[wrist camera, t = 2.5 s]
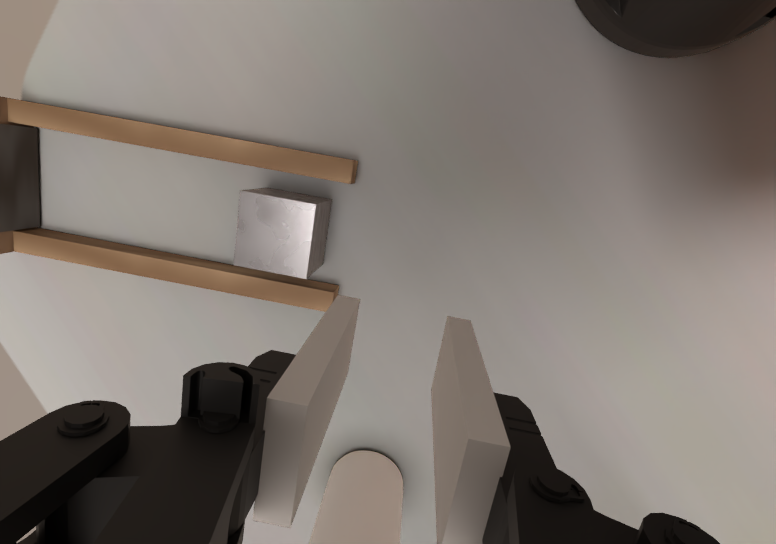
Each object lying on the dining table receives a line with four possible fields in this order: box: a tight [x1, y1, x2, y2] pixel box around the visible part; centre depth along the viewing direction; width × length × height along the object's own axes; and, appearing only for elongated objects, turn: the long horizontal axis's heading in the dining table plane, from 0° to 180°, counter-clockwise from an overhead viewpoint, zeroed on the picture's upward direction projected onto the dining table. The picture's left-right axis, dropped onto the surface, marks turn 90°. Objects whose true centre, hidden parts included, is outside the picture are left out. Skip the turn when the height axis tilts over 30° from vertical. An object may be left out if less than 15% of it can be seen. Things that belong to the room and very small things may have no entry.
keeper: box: [234, 188, 332, 279], centre depth 30 cm, size 5×5×5 cm
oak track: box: [0, 97, 358, 312], centre depth 30 cm, size 11×27×5 cm, turn 80°
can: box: [309, 451, 403, 544], centre depth 31 cm, size 6×6×12 cm
